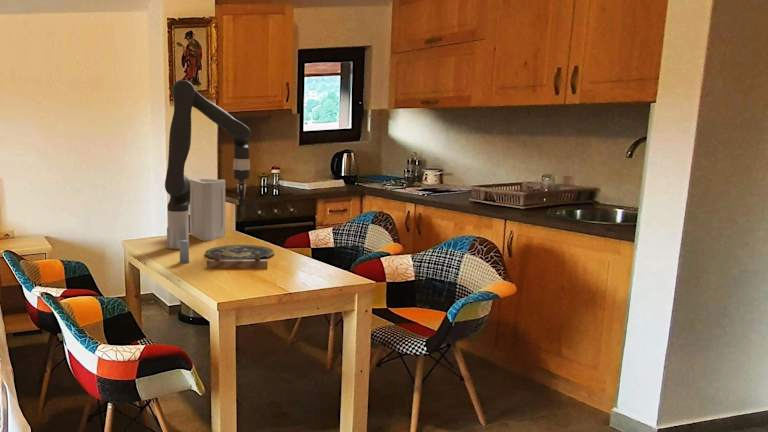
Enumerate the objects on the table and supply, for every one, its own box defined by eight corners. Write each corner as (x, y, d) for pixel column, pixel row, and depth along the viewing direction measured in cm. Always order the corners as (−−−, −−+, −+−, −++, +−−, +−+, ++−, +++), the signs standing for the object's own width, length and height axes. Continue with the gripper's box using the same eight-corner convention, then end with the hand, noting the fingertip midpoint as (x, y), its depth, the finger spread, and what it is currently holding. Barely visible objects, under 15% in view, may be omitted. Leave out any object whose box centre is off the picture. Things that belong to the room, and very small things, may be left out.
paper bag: (231, 238, 338) (232, 182, 334) (202, 240, 330) (202, 183, 325) (217, 232, 354) (217, 178, 349) (189, 234, 345) (188, 178, 341)
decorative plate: (235, 241, 322) (287, 249, 309) (235, 245, 322) (287, 253, 309) (189, 253, 296) (244, 262, 282) (190, 257, 296) (245, 266, 283)
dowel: (179, 263, 282) (179, 241, 281) (180, 261, 286) (180, 240, 284) (188, 263, 283) (188, 241, 281) (189, 261, 286) (189, 240, 285)
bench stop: (206, 268, 275) (206, 253, 274) (207, 266, 278) (207, 252, 277) (267, 268, 279) (267, 253, 278) (267, 266, 282) (267, 252, 281)
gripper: (234, 167, 323) (234, 203, 325) (232, 169, 309) (232, 207, 311) (250, 167, 324) (250, 203, 327) (249, 170, 310) (249, 207, 313)
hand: (241, 205), depth 319 cm, fingers open, 3 cm apart
